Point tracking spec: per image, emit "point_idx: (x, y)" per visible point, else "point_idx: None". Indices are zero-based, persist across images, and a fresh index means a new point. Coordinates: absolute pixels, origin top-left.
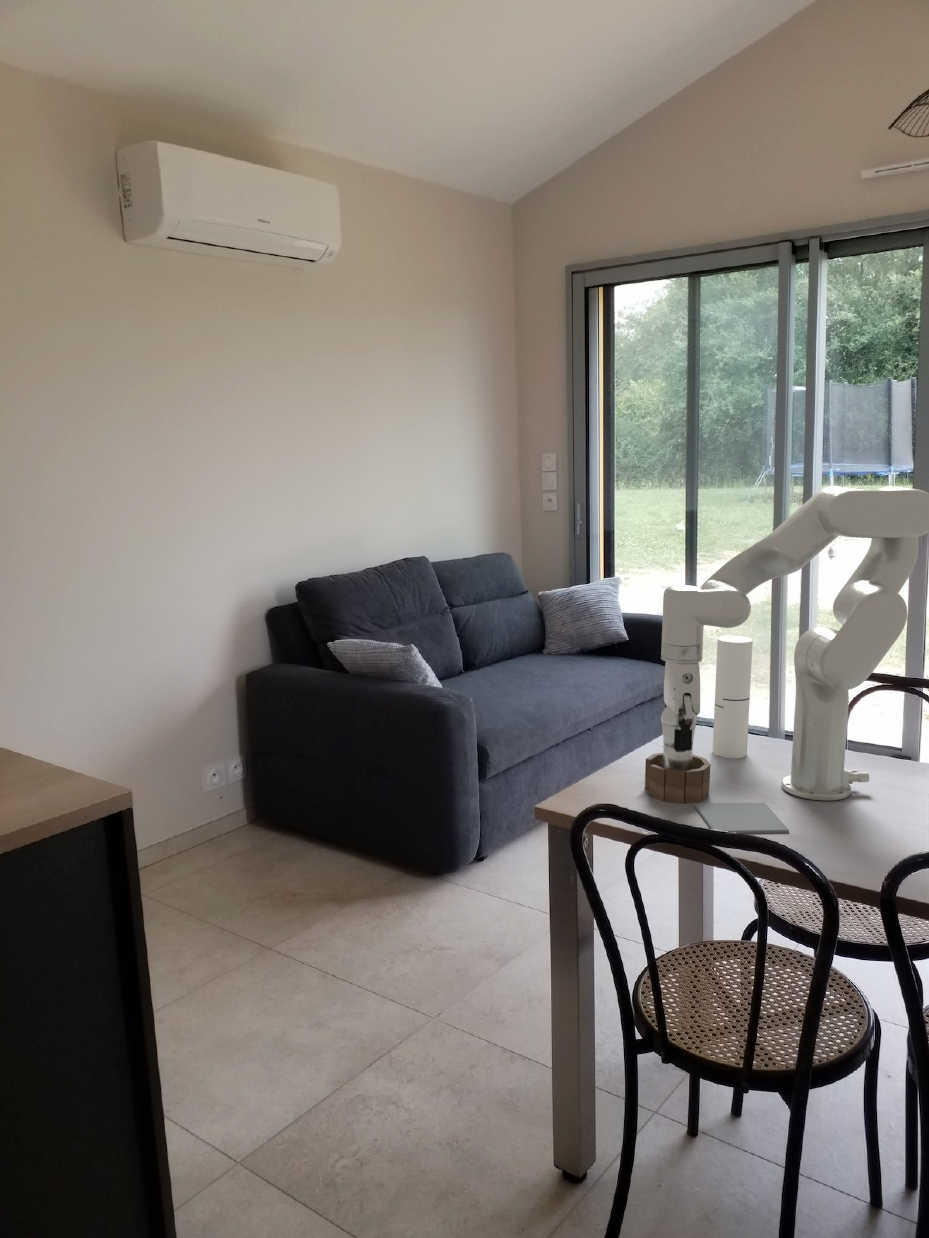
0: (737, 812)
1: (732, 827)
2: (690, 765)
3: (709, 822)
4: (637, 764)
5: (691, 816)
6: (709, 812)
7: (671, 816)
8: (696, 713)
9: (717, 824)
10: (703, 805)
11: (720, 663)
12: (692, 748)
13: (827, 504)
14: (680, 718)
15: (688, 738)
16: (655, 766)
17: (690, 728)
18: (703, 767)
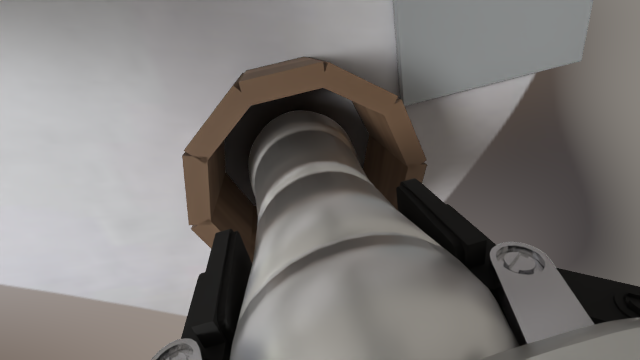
0: None
1: (573, 5)
2: (345, 147)
3: (531, 69)
4: (89, 265)
5: (468, 112)
6: (468, 65)
7: (465, 158)
8: (577, 331)
9: (546, 48)
10: (418, 80)
11: None
12: (339, 166)
13: None
14: None
15: (473, 226)
16: None
17: (537, 261)
18: (367, 95)
